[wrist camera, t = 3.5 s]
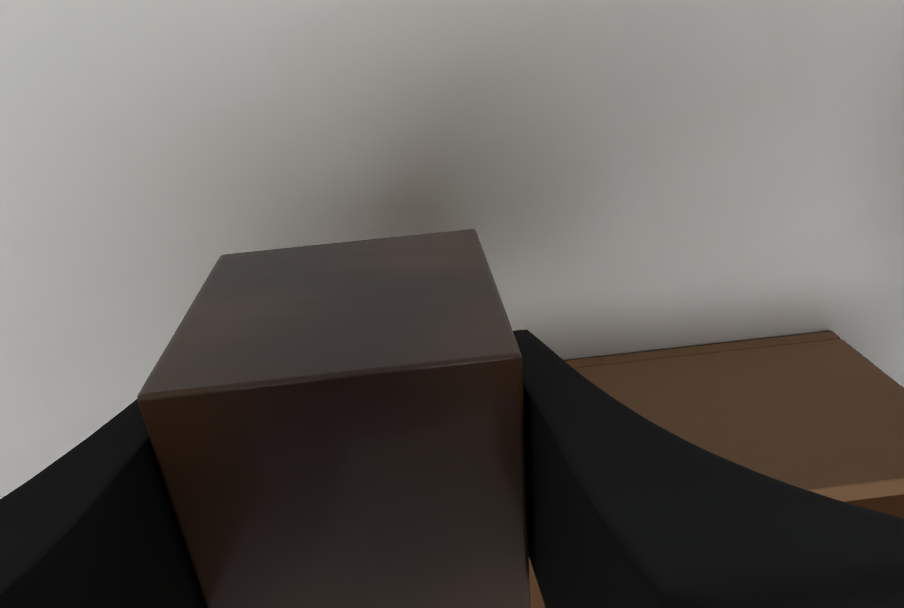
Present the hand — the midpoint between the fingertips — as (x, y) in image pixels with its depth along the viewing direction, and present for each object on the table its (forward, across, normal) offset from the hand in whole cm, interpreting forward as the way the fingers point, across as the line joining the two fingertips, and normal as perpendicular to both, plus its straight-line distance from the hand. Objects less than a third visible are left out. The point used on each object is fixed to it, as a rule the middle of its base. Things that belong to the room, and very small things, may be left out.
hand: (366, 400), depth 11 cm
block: (+2, 0, 0) cm, 2 cm away
